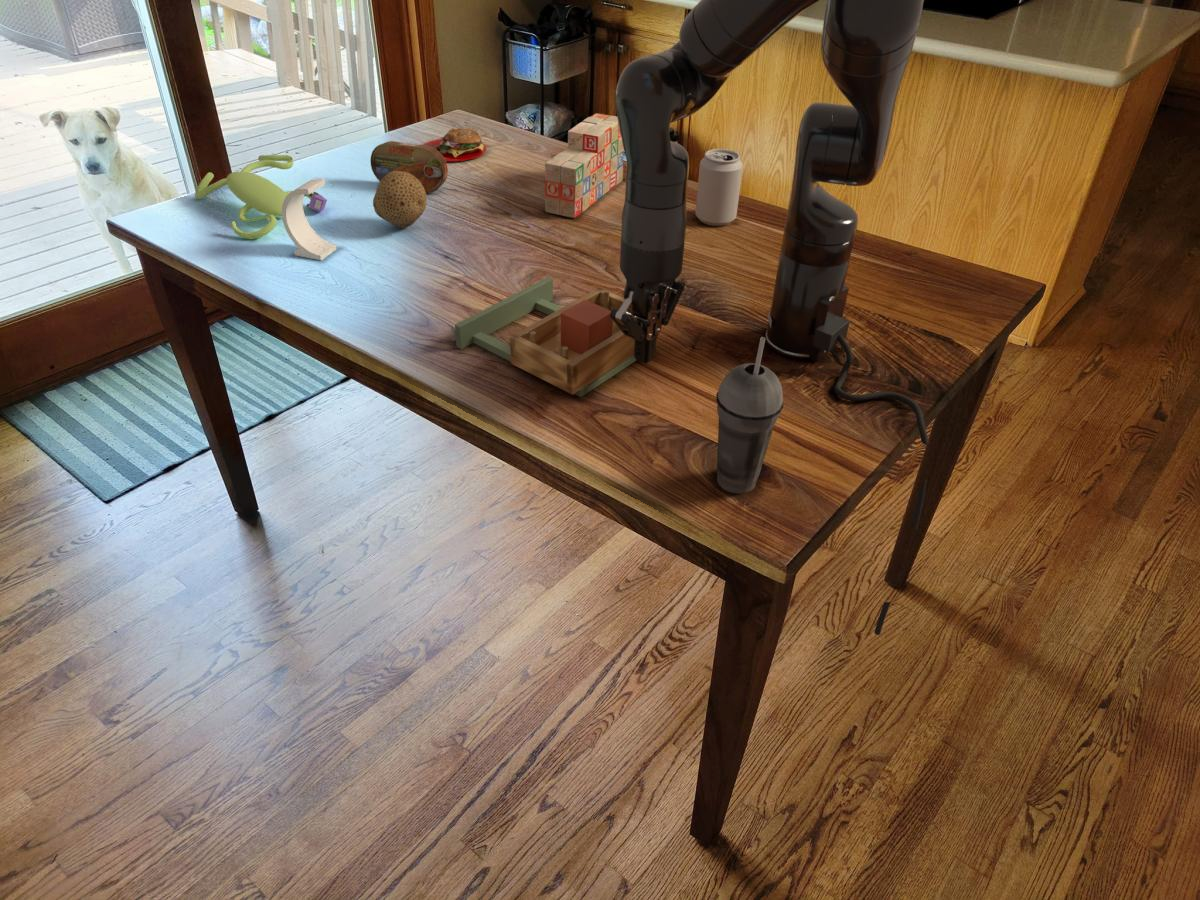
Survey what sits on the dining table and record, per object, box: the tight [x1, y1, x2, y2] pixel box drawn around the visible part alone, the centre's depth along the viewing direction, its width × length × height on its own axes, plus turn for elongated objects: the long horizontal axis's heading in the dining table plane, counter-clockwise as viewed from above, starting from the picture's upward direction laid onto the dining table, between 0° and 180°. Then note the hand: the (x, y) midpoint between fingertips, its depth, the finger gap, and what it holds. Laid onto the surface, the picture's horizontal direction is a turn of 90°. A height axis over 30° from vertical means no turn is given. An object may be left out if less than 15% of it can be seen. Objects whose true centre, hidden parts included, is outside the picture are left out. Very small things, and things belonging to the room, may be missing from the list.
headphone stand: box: [281, 178, 338, 261], centre depth 141 cm, size 5×6×12 cm
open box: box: [509, 287, 659, 395], centre depth 118 cm, size 11×18×5 cm, turn 140°
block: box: [561, 300, 613, 354], centre depth 117 cm, size 5×5×5 cm
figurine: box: [194, 154, 328, 240], centre depth 156 cm, size 18×27×6 cm
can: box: [694, 148, 744, 227], centre depth 155 cm, size 8×8×12 cm
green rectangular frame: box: [454, 276, 637, 398], centre depth 122 cm, size 21×19×4 cm
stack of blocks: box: [544, 112, 625, 219], centre depth 162 cm, size 21×6×12 cm, turn 155°
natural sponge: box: [372, 171, 427, 229], centre depth 149 cm, size 9×9×10 cm
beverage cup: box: [715, 336, 784, 494], centre depth 95 cm, size 7×7×20 cm
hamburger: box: [422, 127, 487, 162], centre depth 181 cm, size 14×14×6 cm
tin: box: [369, 140, 449, 194], centre depth 164 cm, size 15×3×8 cm, turn 73°
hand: (644, 359), depth 113 cm, fingers closed
